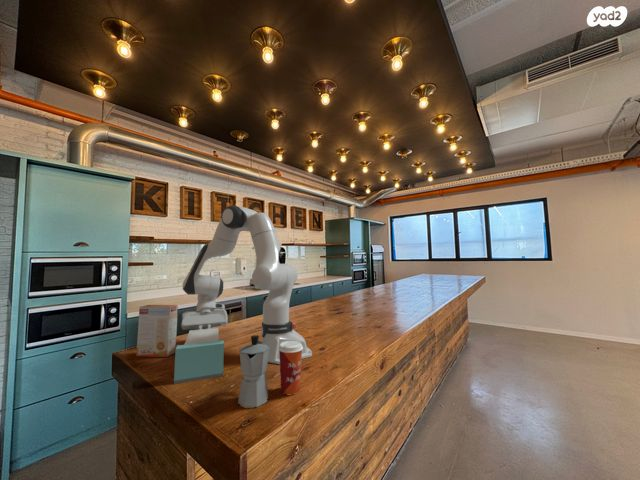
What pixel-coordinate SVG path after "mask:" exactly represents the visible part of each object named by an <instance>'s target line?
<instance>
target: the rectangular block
mask: <svg viewBox="0 0 640 480" xmlns="http://www.w3.org/2000/svg"><path fill="white" fill-rule="evenodd" d="M224 353H225V341H224V339H222V340H219V341H212V342H204V343H195V344H186V345H184V344H176V351H175V353H174V354H175V355H174V356H175V357H174V372H173V376H174V378H173V385H175V384H182V383H189V382H194V381H199V380H206V379H212V378H218V377H219V378H220V377H223V376H224V359H225V358H224V356H225V354H224Z"/></svg>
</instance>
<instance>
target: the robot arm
mask: <svg viewBox="0 0 640 480" xmlns="http://www.w3.org/2000/svg"><path fill="white" fill-rule="evenodd" d="M276 231H277V230H276V229H275V226H274V223H273V222H272V220H271V218H270V216H269V215H268V214H267V213H266V212H260V211H258V210H254V209H250V208H249V207H244V206H237V205H229V206H226V207H224V209H223V211H221V219H220V221H219V222H218V224H217V227H216V229H215V232H214V235H213V237H212V239H211V240H210V242H208V243H205V244H204V245H203V246H202V247H201V249H200V251H199V252H198V254H197V256H196V258H195V260H194V262H193V264H192V266H191V268H190V270H189V271H188V274H187V275H186V277H184V280H183V283H182V290H183V291H184V293H186V294H187V295H188V296H189V295H192V296H193V295H197V304H196V310H186V311H184V312H183V313H182V315H181V319H182V320H181V326H180V327H181V329H182V330H183V331H184V330H197V329H198V330H200V329H210V328H218V327H225V326H227V325H228V319H229V318H228V313H227V310H226V307H225V304H223V303H219V302H216V299H218V298H220V296H221V295H222V294H223V291H224V281H223V279H222V278H221V277H219V276H212V275H211V276H210V275H204V274H200V273H201V272H202V271H201V270H202V269H203V267H204V265H205V262H207V261H208V260H210V259H212V258H218V257H225V256H227V255H230V254H231V253H232V252H233V251H234V250H235V248H236V245H237V242H238V238H239V235H240V233H241V232H249V233H250V237H251V241H252V244H253V247H254V251H255V257H256V264H255V268H254V270H253V272H252V276H251V280H252V284H253V286H254V287H256V289H259V290H262V291H269V292H268V295H267V297H266V299H265V300H264V302H263V305H262V322H261V326H260V327H261V329H260V332H261V333H260V335H261V341H262V344H264V345H267V346H268V347H269V348H270V350H269V357H268V363H272V364H276V365H280V351H279V350H278V348H279V347H280V344H281V343H282V342H285V341H298V342H300V343H301V344H302V346H303V349H302V358H301V360H303V359H308V358H311V357H312V355H313V351H312V350H311V349H310V348H309V347H308V346H307V342H306V339H305V338H304V337H303V336H302V335H301V334H300V333H298V332H297V331H296V330H294V329H296V328H297V327H298V326H297V323H296V322H293V321H290V302H291V295H292V292H293V287H294V286H295V283H296V282H297V281H298V270H297V269H296V268H295V267H294V266H292V265H290V264H288V263H280V258H279V255H280V254H279V253H280V251H281V244H280V241H279V239H278V235H277V232H276Z"/></svg>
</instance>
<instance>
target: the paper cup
mask: <svg viewBox="0 0 640 480" xmlns="http://www.w3.org/2000/svg"><path fill="white" fill-rule="evenodd" d="M302 349H303V346H302V344H301V343H300V342H298V341H285V342H282V343H281V344H280V347H279V348H278V350H279V351H280V364H279V369H280V370H279V371H280V389H281V390H280V391H282V392H281V394H283V393H284V394H294V393H296V392H298V391H299V392H300V387H301V373H302V359H301V358H302ZM299 392H298V393H299ZM284 394H283V395H284Z"/></svg>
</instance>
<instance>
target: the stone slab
mask: <svg viewBox="0 0 640 480" xmlns="http://www.w3.org/2000/svg"><path fill="white" fill-rule="evenodd" d="M219 334H220V333H219V327H211V328H210V329H208V328H202V329H200V330H199V329H189V332H188V334H187V337H186V339H185V342H184V344H183V345H186V344H195V343H204V342H212V341H220V336H219Z"/></svg>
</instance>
